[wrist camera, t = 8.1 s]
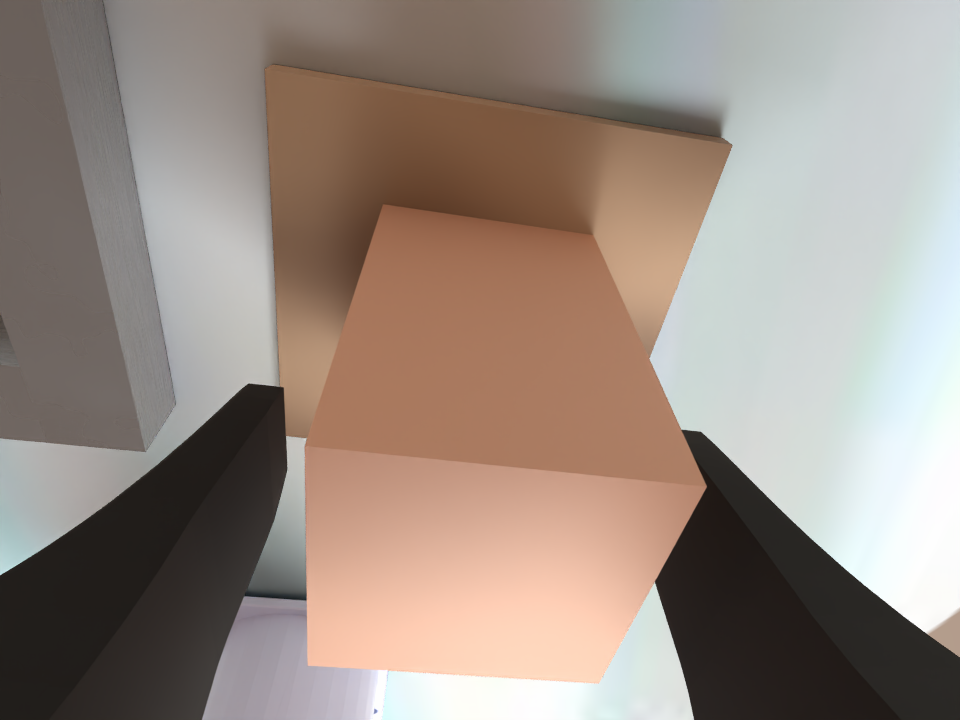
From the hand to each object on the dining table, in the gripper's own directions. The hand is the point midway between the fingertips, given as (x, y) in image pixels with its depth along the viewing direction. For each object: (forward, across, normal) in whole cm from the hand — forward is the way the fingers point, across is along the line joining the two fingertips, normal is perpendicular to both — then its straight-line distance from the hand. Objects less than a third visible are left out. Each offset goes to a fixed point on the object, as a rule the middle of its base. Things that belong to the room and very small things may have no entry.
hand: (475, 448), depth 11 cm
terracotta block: (+5, 0, 0) cm, 5 cm away
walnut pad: (+6, 0, 0) cm, 6 cm away
